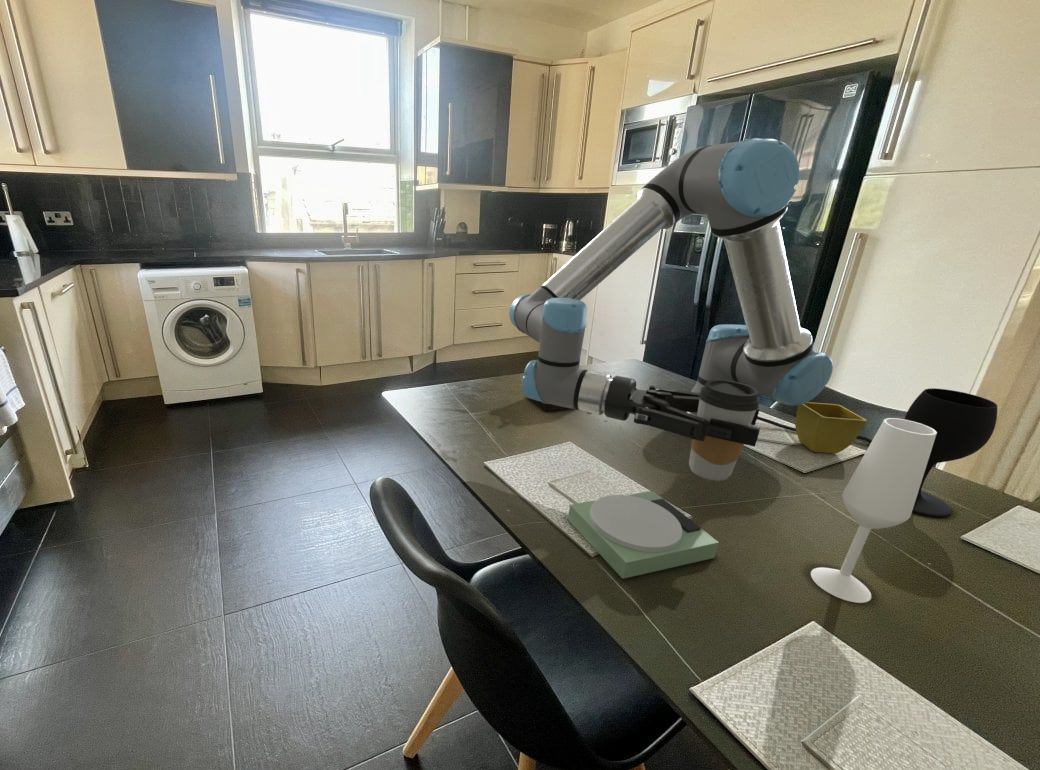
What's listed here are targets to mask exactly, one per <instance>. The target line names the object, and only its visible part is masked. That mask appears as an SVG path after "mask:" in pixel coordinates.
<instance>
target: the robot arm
mask: <svg viewBox="0 0 1040 770" xmlns="http://www.w3.org/2000/svg"><path fill="white" fill-rule="evenodd" d="M799 181H800V164H799V161H798V158H797V155H796V153H795V151H794V150H793V148H791V147H790V146H789V145H788V144H787V143H785V142H783V141H782V140H781V141H780V140H778V139H774V138H757V137H753V138H752V137H751V138H746V139H743V140H740V141H733V142H726V143H725V142H724V143H719V144H708V145H704V146H699V147H697V148H694V149H692V150H689V151H688V152H686V153H684V154H683V155H681V156H679V157H678V158H677V159H675V160H673V161H672V162H671V163H670V164H669V165H667V166H666V167H665V168H664V169H662V170H661V171H660V172H659V173H657V174H656V175H655V176H654V177H653V178H652V179H650V180H649V181H648V182H647V183H646V184H645V185H643V187H642V188H640V189H639V190H638V191H637V193H636V197H635V199H636V200H634V201H633V202H632V203H631V204H630V205H629V206H627V208H625V210H623V211H622V213H620V214H619V215H618V216H617V217H616V218H615V219H614V220H612V221H611V222H610V223H609V224H608V225H607V226H606V227H604V228H603V229H602V231H601V232H599V233H598V234H597V235H596V236H595V237H594V238H593V239H592V240H590V241H589V242H588V243H587V244H586V245H585V246H583V248H581V249H580V250H579V251H578V252H577V253H576V254H575V255H573V257H571V258H570V259H569V260H568V261H567V262H566V263H565V264H564V265H563V266H562V267H560V269H557V271H556V272H555V273H554V274H552V276H550V277H549V278H548V279H547V280H546V281H545V282H544V283H543V284H541V285H540V287H538V288H537V289H536V290H535V291H534V292H532V293H529V294H526V293H525V294H522V295H520V296H517V297H516V298H515V299H514V300H513V301H512V303H511V305H510V307H509V312H508V315H509V320H510V322H511V324H512V325H513V326H514V327H516V329H517V330H518V331H519V332H521V333H522V334H525V335H527V336H528V337H530V338H532V339H533V340H534V341H535V342H537V343H539V346H538V357H537V359H533V360H530V361H529V362H527V364H526V366H525V368H524V371H523V376H522V379H521V392H522V394H523V395H524V396H525V397H526V398H527V397H528V398H530V399H534V400H537V401H540V402H543V403H545V404H553V405H557V406H562V407H567V408H571V409H570V410H576V411H579V412H580V411H581V412H585V413H586V414H587V415H588V416H590V415H592V414H594V415H597V416H601V415H605V417H606V418H608V419H609V418H610V419H614V420H617V421H618V420H619V421H622V422H624V421H627V420H628V418H630V414H631V415H633V416H634V418H633V423H634V424H637V425H642V426H643V425H644V426H648V427H651V428H652V427H653V428H655V429H656V428H657V429H659V430H663V431H665V432H669V433H672V434H675V435H679V436H682V437H685V438H687V439H688V438H689V439H691V440H692V439H695V440H699V441H704V440H705V436H710V437H714V438H719V439H723V440H728V441H732V442H736V443H741V444H744V445H746V446H750V447H756V445H757V442H758V438H759V434H760V432H761V428H759V427H756V423H757V420H758V421H761V422H764V423H767V424H770V425H773V426H776V427H778V428H780V429H781V428H782V429H785V430H787V431H792V432H795V433H797V432H796V427H792V426H789V425H785V424H782V423H780V422H776V421H774V420H771V419H767V418H765V417H761V416H759V414H760V408H758V409H757V410H756V412H755V415H754V417H753V420H752V422H751V425H750V426H746V425H741V424H736V423H732V422H727V421H722V420H717V419H713V418H711V419H710V422H709V421H708V420H706V419H703V418H700V417H698V416H697V412H698V406H699V400H700V398H699V394H700V392H701V388H703V387H704V386H705V384H706V382H707V381H710V380H729V381H735V382H739V383H743V384H746V385H749V386H752V387H754V388H755V389H757V390H758V392H759V394H760V395H763V396H764V397H766V398H769V399H771V400H773V401H774V402H776V403H782V404H784V405H787V406H793V407H794V406H795V407H796V406H798V405H801V404H804V403H806V402H810V401H811V400H813V399H814V398H816V397H817V396H818V395H819V394H820V393H821V392H822V391H823V390H824V389H825V388H826V386H827V385H828V383H829V382H830V379H831V377H832V374H833V369H834V362H833V360H832V358H831V357H830V356H829V355H826V353H824V352H821V351H819V352H818V351H817V350H816V348H815V345H814V340H813V335H812V333H811V332H810V331H809V330H808V329H806V328H804V327H801V325H800V319H799V314H798V310H797V304H796V299H795V294H794V289H793V283H792V280H791V274H790V269H789V263H788V259H787V255H786V254H787V253H786V248H785V245H784V239H783V234H782V229H781V225H780V224H781V223H780V220H781V219H782V218H783V217H784V216H785V214H786V213H787V211H788V204H789V203H790V202H791V200H792V199H793V197H794V195H795V193H796V192H797V190H796V189H795V186H797V185H798V184H799ZM693 215H706V216H707V220H708V223H709V228H710V231H711V234H712V235H713V236H714V237H716V238H719V239H722V240H723V242H724V245H725V249H726V254H727V257H728V261H729V265H730V269H731V272H732V273H731V274H732V277H733V280H734V281H733V282H734V285H735V289H736V292H737V296H738V300H739V304H740V308H741V311H742V315H743V319H744V323H745V324H717V325H714V326H713V327H711V329H710V330H709V333H708V336H707V339H706V340H705V345H704V349H703V353H702V359H701V362H700V367H699V371H698V372H699V373H698V376H697V380H696V383H695V384H694V386H693V388H692V389H691V390H690V391H687V390H681V389H673V388H667V387H666V388H665V387H661V386H656V385H649V387H648V389H646V390H645V389H638V388H637V381H636V379H635V378H631V377H626V376H620V375H615V376H613V375H611V373H606V372H601V371H596V370H589V369H584V368H580V363H581V355H582V351H583V343H584V339H585V338H584V337H585V333H586V327H587V311H588V307H587V304H586V303H585V302H584V301H583V298H585V297H586V296H587V295H588V294H589V293H591V292H592V291H593V290H594V289H595V288H596V287H598V286H599V284H601V283H602V282H603V281H604V280H605V279H607V278H608V276H610V275H611V274H612V273H613V272H614V271H616V270H617V269H618V268H619V267H620V266H621V265H622V264H624V262H626V261H627V260H628V259H629V258H630V257H631V256H632V255H633V254H635V253H636V252H637V251H638V250H639V249H640V248H641V247H642V246H644V245H645V244H646V243H648V241H650V240H651V239H652V238H653V237H654V236H655V235H657V234H658V233H659V232H660V231H661V230H669V229H671V228H672V227H673V226H675V224H676V223H678V222H679V221H680V220H682V219H684V218H686V217H689V216H693ZM528 398H527V399H528ZM856 439H857V440H862V441H864V442H867V443H868V444H869V445H870V444H871V442H872V440H873V439H871V438H869V437H866V436H864V435H860V434H859V435H858V436H857V438H856ZM856 439H855V440H856Z"/></svg>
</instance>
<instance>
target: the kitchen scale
mask: <svg viewBox="0 0 1040 770" xmlns="http://www.w3.org/2000/svg"><path fill="white" fill-rule="evenodd" d="M567 514H568V515H567V520H568V521H569V523H571V525H572V526H573V527H574V528H575V529H576V530H577V531H578V532H579V534H581V535H582V537H583V538H584V540H586V541H587V542H588V543H589V544H590V546H592V548H593V549H595V551H596V552H597V553H598V554H599V555H600V556H601V557H602V558H603V559H604V561H605V562H606V563H607V564H608V565H609V566H610V567H611V568H612V569H613V571H615V573H616V574H617V575H618V576H619V577H620V578H621V579H622V580H623V579H624V580H625V579H628V578H632V577H636V576H637V577H638V576H642V575H645V574H650V573H654V572H655V573H656V572H659V571H664V570H667V569H672V568H676V567H680V566H685V565H690V564H693V563H699V562H702V561H706V560H711V559H715V557H716V554H717V550H718V547H719V544H720V542H719V541H718V540H717V539H716V538H714V537H713V536H711V535H710V534H709V533H708V532H706V530H704V529H702V528H701V526H699V524H697V523H696V522H694V520H692V519H690V518H689V517H688V516H687V515H685V514H684V513H682V512H681V511H680V510H679V509H678V508H676V507H675V506H673V505H672V504H671V503H669V502H668V501H667V500H666V499H664V498H663V497H661V496H659V494H657V493H656V492H654V491H653V490H649V491H648V490H647V491H644V492H643V491H642V492H638V493H631V494H612V495H605V496H603V497H600V498H598V499H596V500H595V499H594V500H590V501H584V502H577V503H572V504H569V508H568V513H567Z"/></svg>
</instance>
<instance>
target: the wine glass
mask: <svg viewBox="0 0 1040 770" xmlns="http://www.w3.org/2000/svg"><path fill="white" fill-rule="evenodd" d="M904 420H909V421H913V422H917V423H920V424H923V425H926V426H928V427H931V428H933V429H934V430H935V431H936V432H937V434H936V437H935V440H934V443H933V447H932V450H931V453H930V456H929V459H928V463H927V466H926V469H925V472H924V475H923V478H922V482H921V485H920V488H919V491H918V494H917V497H916V501H915V504H914V507H913V510H912V513H911V514H915V515H919V516H924V517H930V518H947V517H949V516H950V515H951V514H952V509H951V507H950V505H948V504H947V503H946V502H944V501H943V500H942V499H940V498H938V497H936V496H935V495H932V494H931V493H928V492H925V491H923V490H922V488H923V486H924V483H925V480H926V479H927V477H928V475H929V473H930V472H931V470H932V469H933V467H934V466H935V465H937V464H940V463H945V462H946V463H947V462H952V461H958V460H961V459H965V458H966V457H969V456H971V455H973V454H975V453H977V452H978V451H979V450H981V449H982V448H983V447H984V446H985V445H986V444H987V443H988V442H989V441H990V438H991V437H992V435H993V433H994V431H995V428H996V424H997V420H998V404H997V403H996V402H995V401H992V400H990V399H987V398H985V397H982V396H979V395H975V394H971V393H968V392H965V391H964V392H963V391H958V390H952V389H947V388H946V389H945V388H934V387H933V388H931V387H930V388H925V389H924V390H922V392H921V393H920V394H919V395H918V396H917V397H915V399H914V400H913V402H912V403H911V404H910V406H909V408H908V410H907V411H906V413H905V416H904Z"/></svg>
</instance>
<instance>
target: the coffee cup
mask: <svg viewBox="0 0 1040 770" xmlns="http://www.w3.org/2000/svg"><path fill="white" fill-rule="evenodd" d="M759 394H760V393H759V392H758V390H757V389H755V388H754V387H752V386H749V385H746V384H743V383H739V382H735V381H729V380H710V381H707V382H706V384H705V386H704V387H703V388H701V392H700V394H699V398H700V400H699V406H698V412H697V416H698V417H700V418H703V419H706V420H708V421H709V422H710V419H711V418H713V419H717V420H722V421H727V422H732V423H736V424H741V425H746V426H752V425H751V422H752V420H753V417H754V415H755V412H756V410H757V409H760V402H761V398H760V397H759ZM744 445H745V444H741V443H736V442H732V441H728V440H723V439H719V438H714V437H710V436H705V440H704V441H699V440H695V439H692V438H691V444H690V454H689V459H688V466H689V469H690V471H691V472H692V473H693V474H695V475H696V476H699V477H701V478H703V479H706V480H710V481H716V482H717V481H718V482H719V481H726V480H728V478H729V477H731V476H732V474H733V472H734V470H735V466H736V464H737V462H738V459H739V457H740V455H741V452H742V450H743V448H744Z"/></svg>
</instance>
